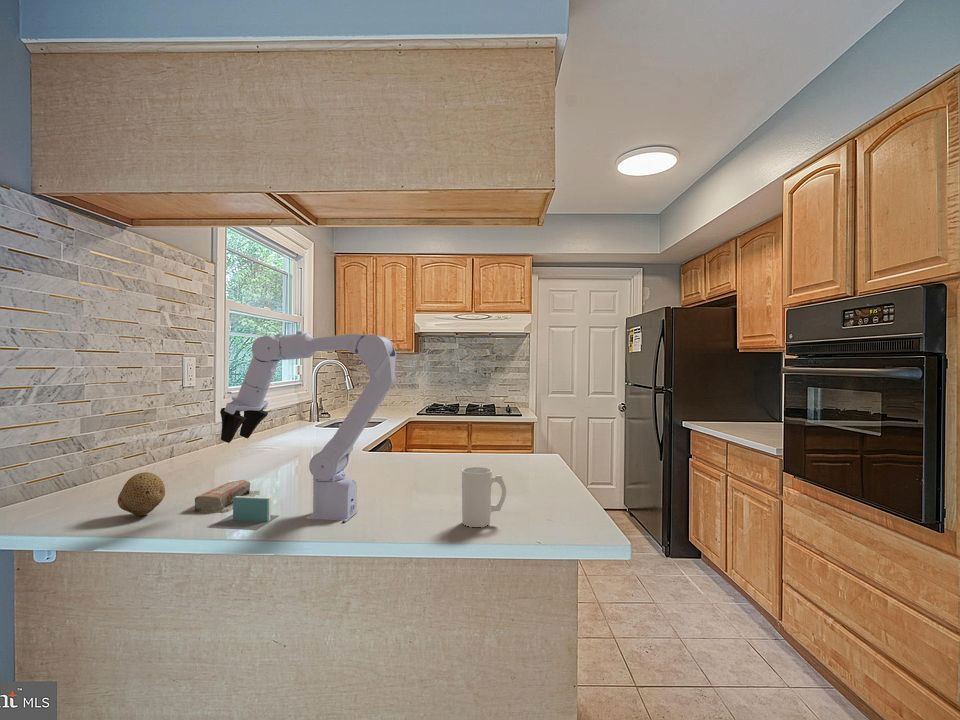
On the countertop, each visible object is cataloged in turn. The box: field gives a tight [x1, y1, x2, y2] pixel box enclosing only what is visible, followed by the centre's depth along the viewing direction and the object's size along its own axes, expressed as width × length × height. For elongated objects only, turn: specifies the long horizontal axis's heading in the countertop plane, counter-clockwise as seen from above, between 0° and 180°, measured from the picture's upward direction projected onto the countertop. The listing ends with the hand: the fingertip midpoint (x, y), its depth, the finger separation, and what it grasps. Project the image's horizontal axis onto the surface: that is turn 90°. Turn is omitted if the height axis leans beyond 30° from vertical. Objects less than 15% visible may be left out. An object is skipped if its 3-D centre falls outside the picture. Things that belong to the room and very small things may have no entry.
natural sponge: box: [117, 471, 166, 517], centre depth 121 cm, size 9×9×10 cm
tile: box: [232, 496, 272, 522], centre depth 117 cm, size 8×1×5 cm, turn 84°
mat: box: [207, 514, 280, 531], centre depth 116 cm, size 11×10×1 cm
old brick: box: [185, 479, 261, 513], centre depth 131 cm, size 18×5×10 cm
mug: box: [461, 466, 507, 528], centre depth 118 cm, size 10×7×12 cm, turn 92°
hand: (234, 438), depth 123 cm, fingers open, 7 cm apart
